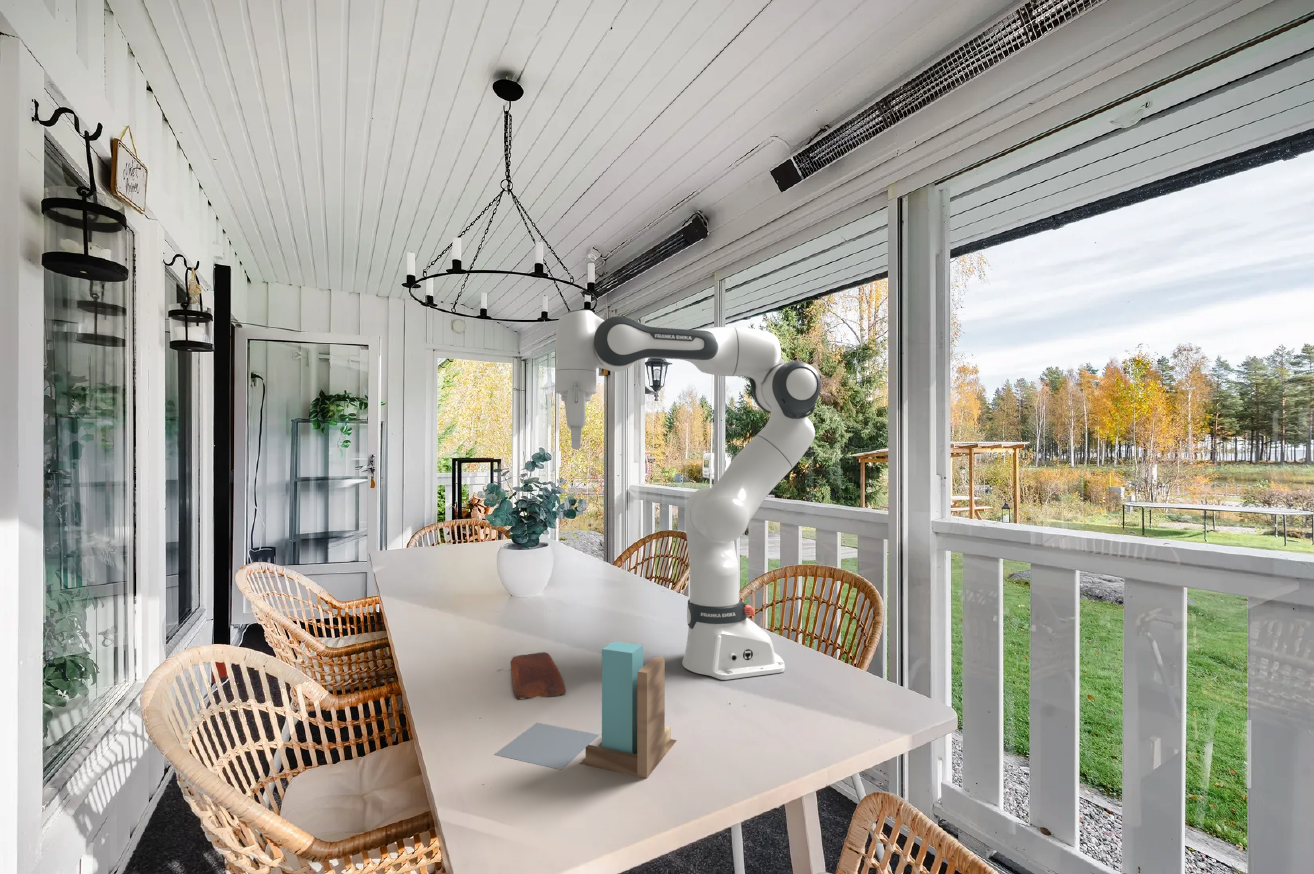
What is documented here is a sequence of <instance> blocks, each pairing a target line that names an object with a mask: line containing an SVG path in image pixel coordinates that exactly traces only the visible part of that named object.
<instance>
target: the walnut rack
mask: <svg viewBox="0 0 1314 874" xmlns="http://www.w3.org/2000/svg"><path fill="white" fill-rule="evenodd" d="M665 660H666V658H665V657H661V656H654V657H653V658H652V659H651V660H649V661H648V662H647V663H645V665H643V667H642V668H641V669H640V670H639V671H638V677H637V754H632V753H627V752H622V751H617V750H612V749H608V748H603V747H602V741H601V742H600V743H598V745H593V744H589V745H588V746H587V747H586V748H585V758H583V759H582V760H581V761H580V762H579V765H583V766H588V767H592V768H596V769H601V770H606V771H610V772H611V771H612V772H616V773H619V774H623V775H624V774H625V775H629V776H632V777H633V776H634V777H638V778H642V779H648V778H649V776H650V775H651V774H652V773H653V771H654V770H655V769H656V768H657V766H658V765H659V763H661V761H662V760H663V759H664V758H665V756H666V755H667V753H668V752H669V751H670V750H671V749H672V747H674V745H675V743H676V742H677V741H678V740H677V739H674V738H673V739H672V738H671V740H670V741H669V742H668V743H667V745H666V746H665V726H666V725H665V723H666V721H665V716H666V715H665V711H666V710H665V709H666V708H665V707H666V706H665V704H666V703H665V700H666V698H665V689H666V687H665V686H666V685H665V682H666V678H665V676H666V675H665V674H666V673H665V672H666V671H665V669H666V668H665V666H666V663H665V662H666V661H665Z"/></svg>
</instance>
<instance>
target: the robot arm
mask: <svg viewBox="0 0 1314 874" xmlns="http://www.w3.org/2000/svg"><path fill="white" fill-rule="evenodd" d="M781 354H782V348H781V344H780V340H779V339H778V337H777V336H776V335H775V333H774V334H773V333H772V332H769V331H766V330H762V329H757V328H751V327H750V328H749V327H738V326H715V327H713V326H712V327H706V328H695V329H694V328H693V329H683V328H672V327H671V328H670V327H657V326H656V327H653V326H649V325H644V324H642V323H640V322H639V321H638V322H637V321H636V320H634V319H631V318H629V317H628V316H627V317H626V316H621V315H619V316H618V315H616V316H612V317H609V318H607V319H605V320H604V319H602V318H601V317H600V316H598V315H596V314H595V313H594V312H593V311H592V310H591V309H574V310H570V311H568V312H565V313H563V314H562V315H561V316H560V317H559V319H558V320H557V325H556V332H555V355H556V359H557V361H556V366H555V377H554V379H555V384H554V385H555V388H554V389H555V390H554V391H555V393H556V394H559V395H560V396H561V397H560V398H561V399H560V401H562V402H563V403H564V408H565V409H564V411H565V418H566V425H567V428H568V429H569V430H570V437H571V449H573V450H579V449H581V441H582V440H581V439H582V438H581V437H582V430H583V428H584V427H585V425H586V411H587V410H586V409H587V402H590V401H591V395H594V394H597V370H598V369H602V370H605V371H609V372H614V373H616V372H617V373H618V372H622V371H625V370H627V369H628V368H630V367H631V366H632V365H633V364H634V363H635V362H637V361H639V360H643V359H663V360H665V359H666V360H682V361H686V362H689V363H691V364H692V365H694V366H695V367H696V368H697V370H699V371H700V372H701V373H704V374H708V375H714V376H718V377H719V376H720V377H747V378H749V379H748V380H749V381H748V382H749V384H750V387H751V391H752V397H753V399H754V402H755V403H756V405H757V406H758V407H759V408H760V409H761V410H762V411H764V412H766V413H769V414H770V415H769V419H768V421H767V423H766V424H765V426H764V427H763V428H761V430H760V431H759V432H758V433H757V434H755V436H754V437H753V438H751V440H750V441H749V442H748V443H747V444H746V445H745V446H744V447H743V448H742V449H741V450H740V451H739V452H738V453H737V454H736V456H735V457H733V458H732V460H731V461H730V463H729V466H728V467H727V468H726V470H725V471H724V472H723V474H722V475H721V476H720V478H719V479H718V480H717V481H716V483H715V484H714V485H713V487H703V488H699V489H697V490H695V491H694V492H693V493H691V495H690V496H689V497H688V499H687V500H686V502H685V505H684V516H685V517H684V518H685V519H684V520H685V531H686V532H685V533H686V543H687V545H686V546H687V553H688V561H689V564H688V565H689V598H688V600H687V606H686V623H687V626H688V628H687V629H688V632H687V638H686V639H687V641H686V646H685V650H684V655H683V658H682V662H681V665H682V667H684V668H685V669H686V670H688V671H689V672H692V673H696V674H700V675H705V676H710V677H713V678H715V679H718V680H722V681H725V680H733V679H740V678H742V679H743V678H748V677H756V676H763V675H771V674H772V675H773V674H779V673H783V672H784V671H786V665H785V661H784V660H783V658H782V657H781V656H780V655H779V654H778V653H776V652H775V648H774V644H773V641H772V639H771V637H770V635H769V634H768V633H767V632H766V631H765V630H763V628H761V627H760V626H759V625H758V624H756V623H755V622H754V621H752V619H750V618H748V616H749V617H751V616H753V615H754V614H755V608H753V606H751V605H750V604H747V603H746V602H744V601H743V600H740V565H739V561H738V556H737V551H736V545H735V543H736V542H735V541H737V540H738V539H740V538H741V536H743V535H744V534H745V532H746V530H747V529H748V525H749V523H750V522H751V520H752V519H753V517H755V516H754V515H755V514H756V513H757V511H758V510H759V508H760V506H761V505H762V503H763V502H764V500H765V499H766V498H767V496H769V494H770V493H771V492H772V491H773V490H774V488H775V487H777V485H778V484H779V483H780V482H781V481H782V480H783V479H784V478H785V477H786V475H788V473H789V472H790V471H791V470H792V469H794V468H795V466H796V465H797V463H799V461H800V460H801V459H802V458H803V456H804V455H805V453H806V452H807V451H808V449H809V448H810V446H811V444H812V443H813V441H814V439H815V437H816V430H815V427H814V424H813V423H812V421H811V420H810V419H809V418H808V417H809V416H811V415H812V414H813V413H814V410H815V408H816V402H817V400H818V399H819V395H820V394H821V393H820V392H821V389H822V380H821V376H820V374H819V372H818V371H817V370H816V369H815V368H814V367H813V366H812V365H810V364H808V363H806V362H803V361H795V360H794V361H793V360H792V361H789V362H786V361H784V360H783V358H782V355H781Z"/></svg>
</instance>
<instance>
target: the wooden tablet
mask: <svg viewBox="0 0 1314 874" xmlns="http://www.w3.org/2000/svg"><path fill="white" fill-rule="evenodd" d="M510 666H511V673H512V674H511V675H512V676H511V677H512V683H513V684H512V685H513V691H514V695H515V697H516V699H517V700H520V701H521V700H529V699H535V698H537V697H538V698H555V697H561V696H564V695H565V693H566V685H565V682H564V680H563V676H562V674H561V673H560V671H559V669H558V667H557V665H556V664H555V661H554V660H553V658H552V656H551V655H550V654H549V653H548V652H546V651H545V652H543V651H542V652H536V653H529V654H520V655H516V656H513V657H512V658H511V660H510Z"/></svg>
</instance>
